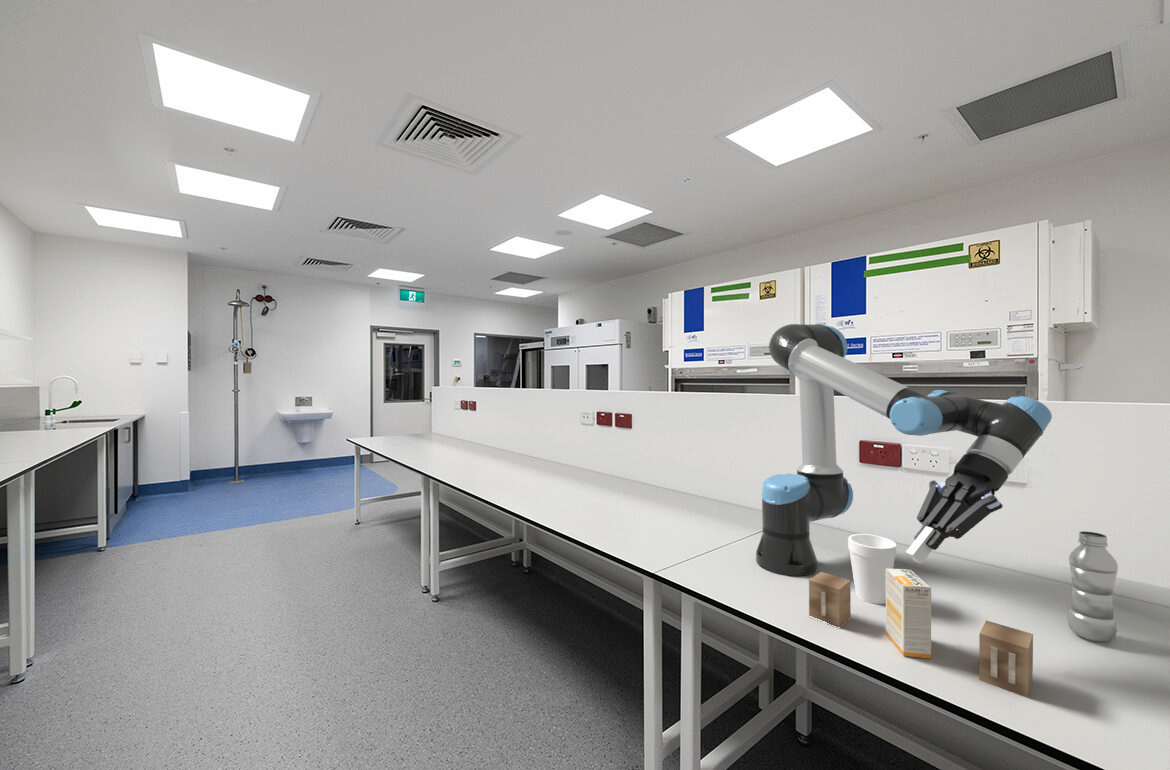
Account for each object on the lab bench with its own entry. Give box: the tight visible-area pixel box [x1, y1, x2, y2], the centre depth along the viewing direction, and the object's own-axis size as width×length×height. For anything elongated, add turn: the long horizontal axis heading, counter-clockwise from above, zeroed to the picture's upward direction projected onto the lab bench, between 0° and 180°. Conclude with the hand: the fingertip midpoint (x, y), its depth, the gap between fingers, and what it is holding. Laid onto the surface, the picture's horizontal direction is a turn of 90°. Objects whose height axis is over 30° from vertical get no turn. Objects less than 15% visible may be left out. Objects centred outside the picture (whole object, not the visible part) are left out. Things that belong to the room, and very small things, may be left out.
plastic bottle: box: [1066, 530, 1119, 643], centre depth 91 cm, size 6×7×20 cm
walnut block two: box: [978, 620, 1034, 699], centre depth 79 cm, size 6×6×8 cm
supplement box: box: [885, 568, 932, 659], centre depth 89 cm, size 8×5×13 cm, turn 168°
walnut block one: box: [808, 571, 852, 628], centre depth 100 cm, size 6×6×8 cm
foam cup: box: [847, 533, 897, 605], centre depth 108 cm, size 10×9×13 cm
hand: (913, 558), depth 89 cm, fingers closed
